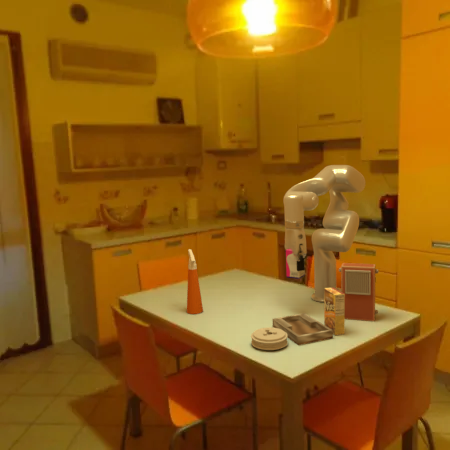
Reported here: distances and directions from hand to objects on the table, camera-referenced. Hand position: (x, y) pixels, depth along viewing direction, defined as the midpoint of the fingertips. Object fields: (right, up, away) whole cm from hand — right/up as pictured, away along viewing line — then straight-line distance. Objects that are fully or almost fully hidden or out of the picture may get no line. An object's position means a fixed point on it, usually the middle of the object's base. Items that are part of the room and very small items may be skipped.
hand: (295, 267), depth 191 cm
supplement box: (0, -4, +1) cm, 4 cm away
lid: (-13, -25, -25) cm, 37 cm away
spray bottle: (-42, -20, +14) cm, 48 cm away
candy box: (+12, -22, -15) cm, 29 cm away
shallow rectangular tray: (0, -22, -15) cm, 27 cm away
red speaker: (+24, -20, -3) cm, 31 cm away
